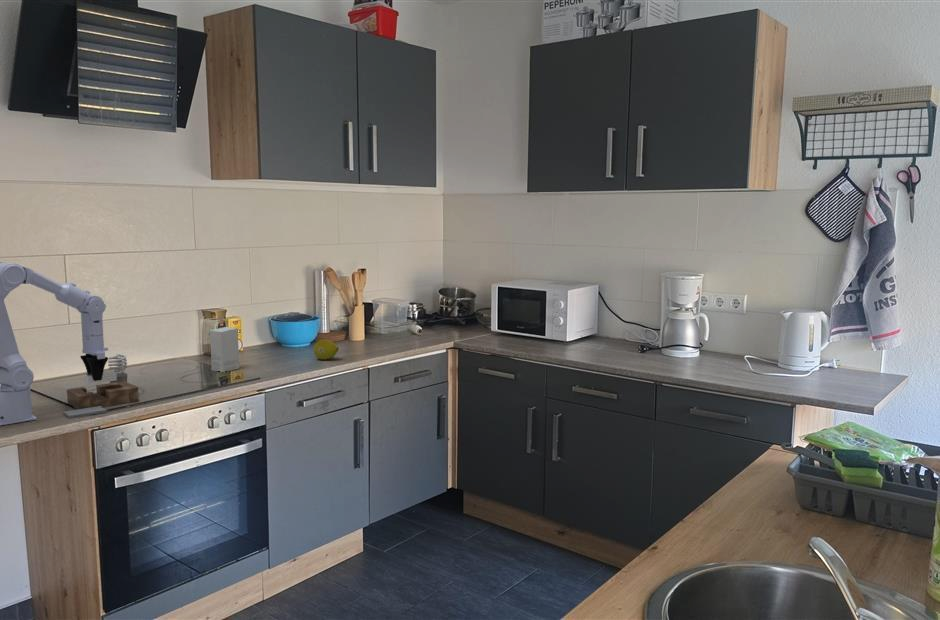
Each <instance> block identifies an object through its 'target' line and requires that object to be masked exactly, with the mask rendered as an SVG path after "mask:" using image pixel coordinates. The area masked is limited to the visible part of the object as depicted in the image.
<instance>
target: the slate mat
mask: <svg viewBox="0 0 940 620" xmlns="http://www.w3.org/2000/svg"><path fill="white" fill-rule="evenodd" d="M107 412H108V410H107V408H106V407H101V406H96V407H90V408H84V409H78V410H77V409H73V410H67V411H63V412H62V414H63V416H64V417H66V418H67V419H69V420H71V419H74V418H75V419H77V418H81V417H87V416H94V415H93V414H95V415H100V413H101V414H106V413H107Z"/></svg>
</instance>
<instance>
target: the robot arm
mask: <svg viewBox="0 0 940 620" xmlns="http://www.w3.org/2000/svg"><path fill="white" fill-rule="evenodd" d="M22 284H23V285H28V284H29V285H31V286H34V287H37V288H39V289H42V290H44V291H45V292H49V293H51V294H53V295H54V297H55V299H56V300H57V302H60V303H61V304H62V303H63V304H64V305H67V306H68V307H71V308H74V309H76V310H77V311H78V312H79V313H80V319H81V320H80V322H81V335H82V336H81V337H82V338H81V339H82V340H81V341H82V350H81V351H82V354H85V355H80V357H79V358H80V359H81V360H82V362H83V364H84V367H85V369H86V372H87V373H92V377H93V380H94V381H98V380H102V376H103V372H104V370H105V367H106V364H107V363H108V361H109V359H108V358H109V356H108V357H107V356H106V351H109V348H108V347H106V346H105V341H104V340H105V339H104V324H103V321H104V320H103V316H104V315H103V313H104V312H105V311H106V308H107V304H106V303H105V301H104V300H103V298H102V297H100V296H98V295H93V294H91V291H89V290H85V291H84V290H83V289H81V288H79V287H77V284H75V283H74V282H73V283H72V282H70V283H69V282H63V283H62V284H60V283H59V282H57V281H54V280H52V278H49V277H47V276H45V275H44V274H41V273H39V272H37V271H35V270H33V269H31V268H30V267H26V266H22V265H21V264H18V263H14V262H13V263H7V262H3V261H0V426H5V425H12V424H17V423H24V422H29V421H36V420H38V417H36V416H35V415H34V414H33V408H32V405H33V404H32V394H31V392H32V391H31V385H32V383H33V382H34V372H33V370H31V369H30V368H29V367H28V365H27V361H26V360H25V359H24V358H23V356H22V355H21V354H20V351H19V347H18V343H17V341H16V336H15V333H14V330H13V327H12V324H11V320H10V317H9V313H8V310H7V306H6V302H5V299H6V298H7V297H8V296H9V294H10V293H11V292H12V291H14V290H15V289H16V288H18V287H19V286H20V285H22Z"/></svg>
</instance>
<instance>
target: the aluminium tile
mask: <svg viewBox="0 0 940 620" xmlns="http://www.w3.org/2000/svg"><path fill="white" fill-rule="evenodd" d="M117 373H118V372H114V370H105V371H103V376H102V380H98V381H94V380H93V377H92V373H83V375H84V382H85V383H87V384H97V383H105V382H110V381H116V380H117Z"/></svg>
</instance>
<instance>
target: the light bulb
mask: <svg viewBox="0 0 940 620" xmlns="http://www.w3.org/2000/svg"><path fill="white" fill-rule="evenodd" d="M107 365H108V371H114V372H116V373H117V380H116V381H109V383H115V382H122V381H126V382H128V373H126V372H125V371H126V369H127V368H128V366H127V365H128V363H127V355H125V354H120V353H116V354H115V355H114V356H108V360H107Z"/></svg>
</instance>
